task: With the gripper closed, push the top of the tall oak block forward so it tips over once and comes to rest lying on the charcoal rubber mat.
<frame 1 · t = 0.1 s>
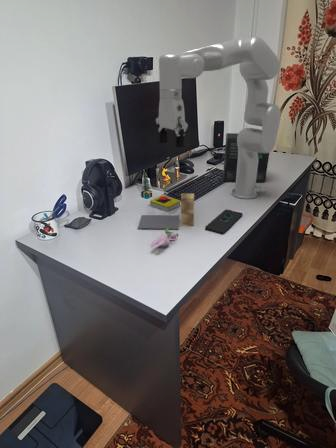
hand: (171, 144, 115), 31 cm above the table, tool pointing down, fingers open, 9 cm apart
smart home device: (224, 223, 126), on the table
charcoal mat: (159, 222, 127), on the table
oak block: (187, 223, 126), on the table
emergency button: (165, 207, 142), on the table
headset box: (243, 179, 173), on the table
pink creature figurine: (165, 245, 111), on the table
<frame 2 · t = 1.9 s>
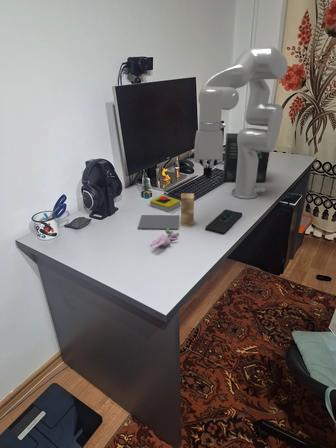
hand: (207, 177, 116), 20 cm above the table, tool pointing down, fingers closed
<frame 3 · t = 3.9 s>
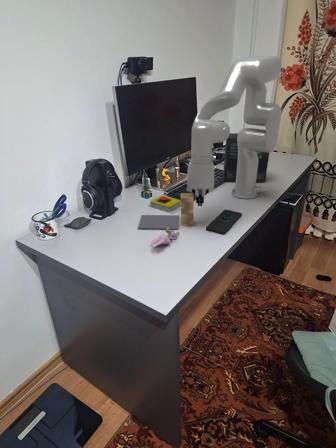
hand: (199, 204, 122), 8 cm above the table, tool pointing down, fingers closed
oak block: (187, 223, 126), on the table, touching gripper
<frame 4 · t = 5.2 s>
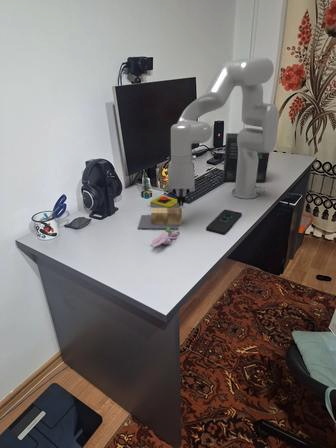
hand: (181, 204, 122), 8 cm above the table, tool pointing down, fingers closed
oak block: (181, 216, 125), point 3 cm above the table, tilted 90°, touching charcoal mat
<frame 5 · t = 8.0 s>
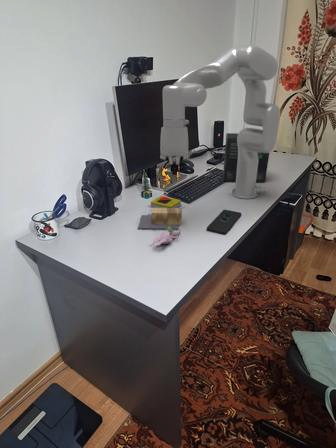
hand: (174, 173, 117), 21 cm above the table, tool pointing down, fingers closed
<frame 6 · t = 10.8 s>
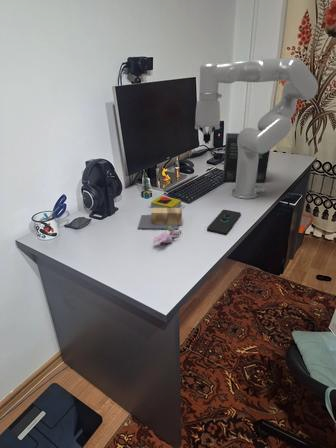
hand: (206, 142, 134), 27 cm above the table, tool pointing down, fingers closed
at the end: oak block tilted 90°; oak block inside the target area (1.7 cm from its centre), point 3.1 cm above the table; oak block touching charcoal mat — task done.
